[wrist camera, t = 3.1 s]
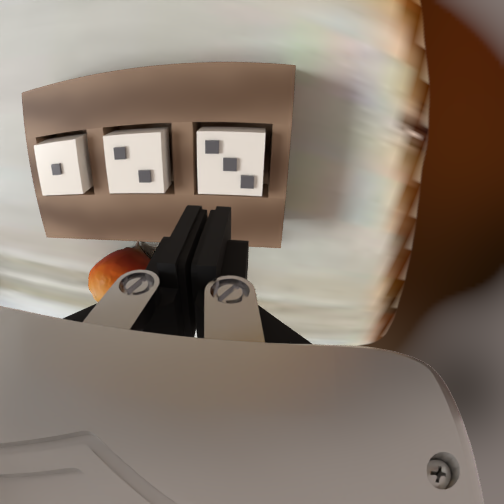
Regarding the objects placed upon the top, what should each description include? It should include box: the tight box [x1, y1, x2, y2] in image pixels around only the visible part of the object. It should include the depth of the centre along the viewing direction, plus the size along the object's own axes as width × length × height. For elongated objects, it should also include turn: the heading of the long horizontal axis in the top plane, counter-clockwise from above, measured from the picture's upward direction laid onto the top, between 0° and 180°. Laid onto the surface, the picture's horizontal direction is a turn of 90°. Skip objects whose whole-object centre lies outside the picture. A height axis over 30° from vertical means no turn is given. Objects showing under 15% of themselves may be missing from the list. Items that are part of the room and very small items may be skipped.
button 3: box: [197, 127, 266, 196], centre depth 21 cm, size 4×4×2 cm
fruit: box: [88, 241, 151, 302], centre depth 30 cm, size 8×8×8 cm
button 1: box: [34, 134, 93, 196], centre depth 21 cm, size 4×4×2 cm
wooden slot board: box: [22, 62, 296, 248], centre depth 23 cm, size 14×22×5 cm, turn 88°
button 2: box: [103, 127, 171, 193], centre depth 21 cm, size 4×4×2 cm
